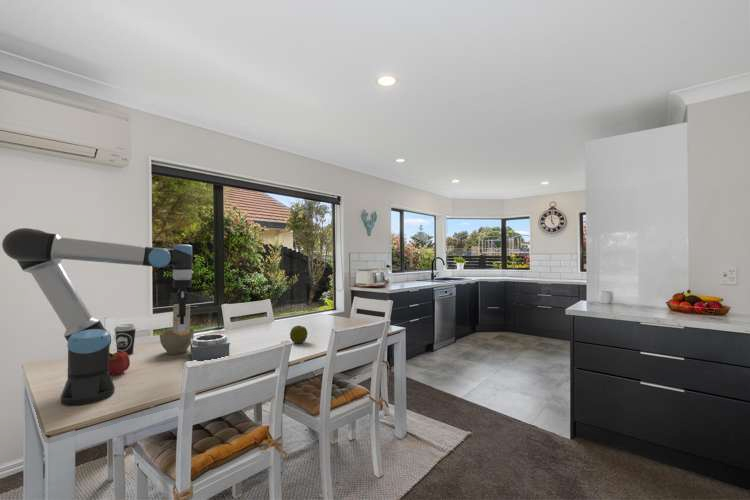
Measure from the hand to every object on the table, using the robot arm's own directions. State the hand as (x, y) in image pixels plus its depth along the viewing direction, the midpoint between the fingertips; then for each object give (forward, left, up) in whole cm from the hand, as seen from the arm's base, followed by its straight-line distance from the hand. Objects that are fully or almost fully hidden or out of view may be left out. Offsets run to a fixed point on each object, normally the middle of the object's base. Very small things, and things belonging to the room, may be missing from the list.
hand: (181, 329), depth 155 cm
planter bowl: (+34, +1, -19) cm, 39 cm away
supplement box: (0, 0, -2) cm, 2 cm away
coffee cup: (+42, +24, -19) cm, 52 cm away
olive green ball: (+20, -61, -19) cm, 67 cm away
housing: (+17, -13, -18) cm, 28 cm away
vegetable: (+9, +25, -19) cm, 32 cm away
